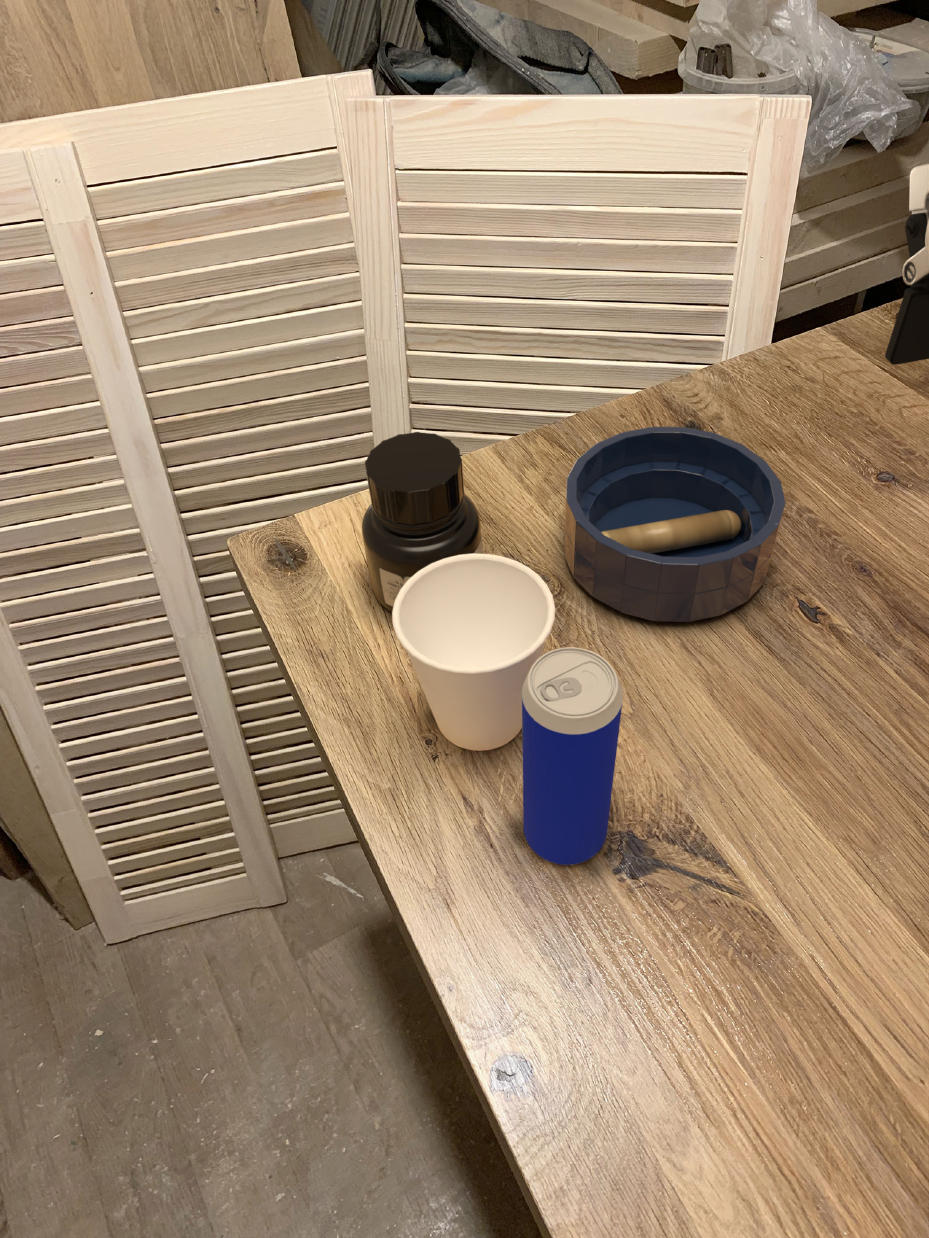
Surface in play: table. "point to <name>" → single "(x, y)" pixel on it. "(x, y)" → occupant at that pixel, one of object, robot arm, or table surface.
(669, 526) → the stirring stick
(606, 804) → the beverage can
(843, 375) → the table surface
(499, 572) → the cup
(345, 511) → the table surface
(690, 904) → the table surface
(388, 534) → the ink bottle
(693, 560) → the bowl
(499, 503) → the table surface
